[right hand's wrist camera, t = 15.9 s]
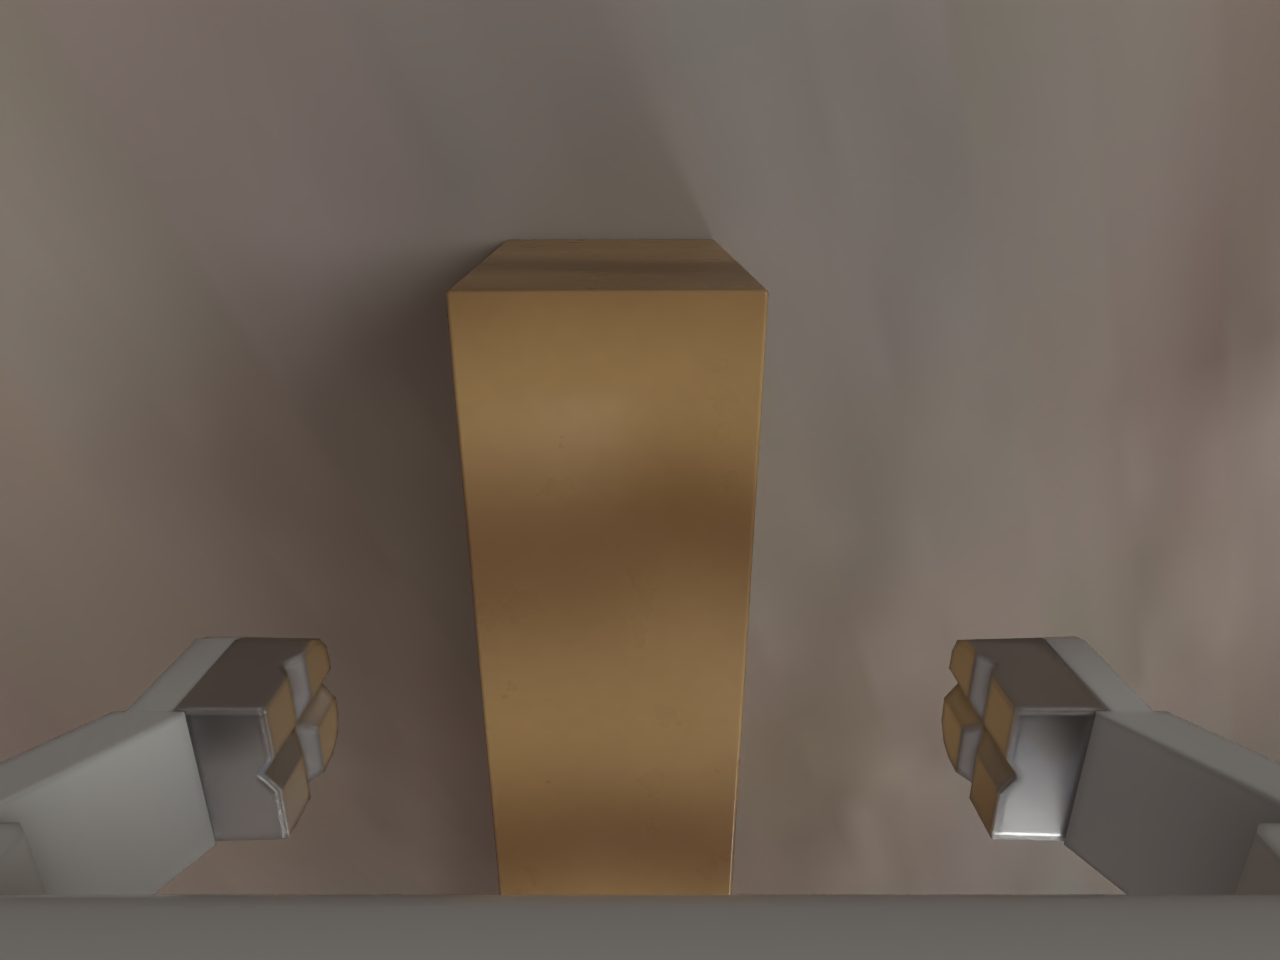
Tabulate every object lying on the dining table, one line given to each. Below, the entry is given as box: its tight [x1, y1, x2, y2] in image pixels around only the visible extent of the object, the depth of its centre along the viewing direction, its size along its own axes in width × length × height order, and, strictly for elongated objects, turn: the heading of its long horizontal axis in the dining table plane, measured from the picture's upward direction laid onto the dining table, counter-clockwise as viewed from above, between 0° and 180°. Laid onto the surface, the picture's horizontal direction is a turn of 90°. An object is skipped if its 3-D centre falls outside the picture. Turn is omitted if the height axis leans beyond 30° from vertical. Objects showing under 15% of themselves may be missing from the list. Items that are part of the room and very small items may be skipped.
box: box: [446, 239, 768, 895], centre depth 24 cm, size 27×6×9 cm, turn 0°
